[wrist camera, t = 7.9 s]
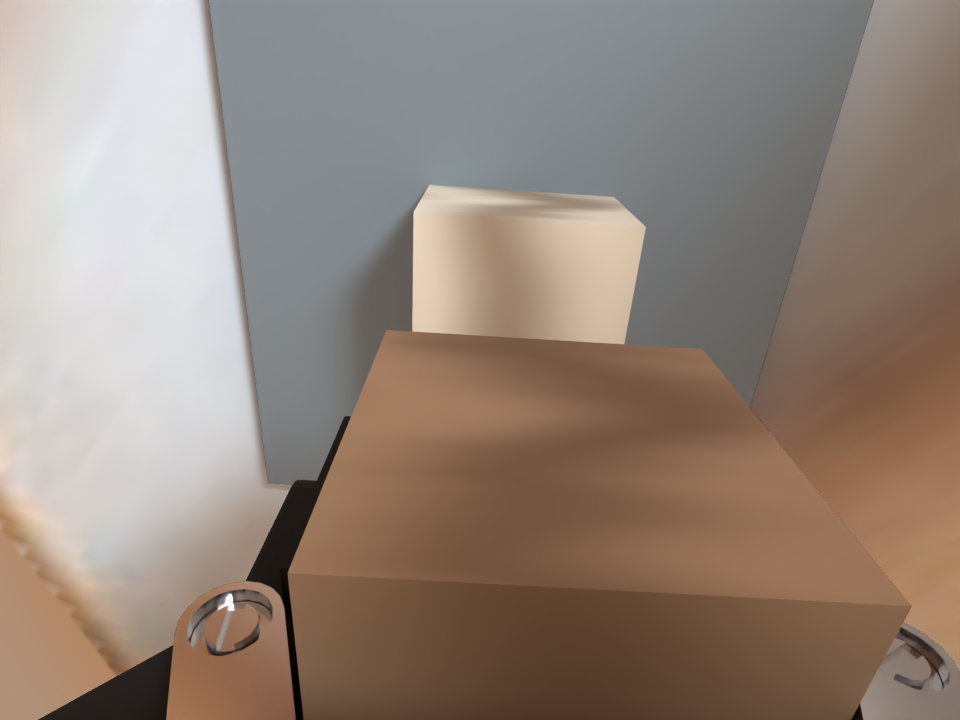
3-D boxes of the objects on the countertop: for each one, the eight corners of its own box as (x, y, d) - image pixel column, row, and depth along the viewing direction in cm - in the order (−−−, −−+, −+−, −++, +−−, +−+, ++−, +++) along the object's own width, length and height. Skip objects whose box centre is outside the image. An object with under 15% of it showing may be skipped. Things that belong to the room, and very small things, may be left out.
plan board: (866, -21, 19) (881, -25, 19) (713, 498, 29) (718, 509, 28) (210, -67, 19) (200, -73, 18) (273, 473, 29) (267, 482, 28)
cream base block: (613, 196, 22) (646, 226, 17) (587, 362, 25) (609, 424, 20) (429, 184, 22) (413, 212, 17) (425, 352, 25) (411, 412, 20)
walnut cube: (702, 348, 11) (911, 606, 6) (643, 581, 14) (749, 911, 8) (385, 329, 11) (287, 573, 5) (388, 568, 13) (322, 892, 8)
